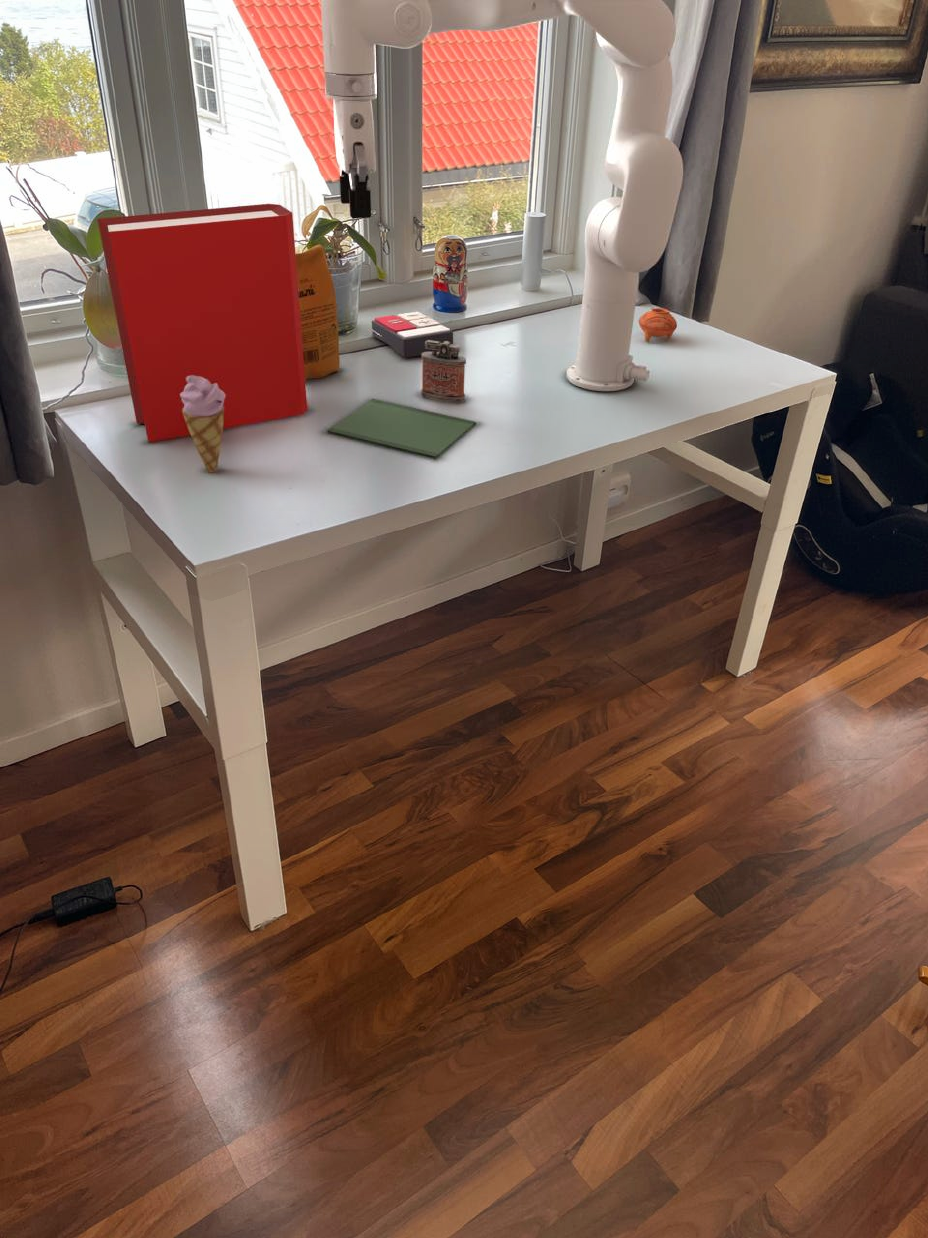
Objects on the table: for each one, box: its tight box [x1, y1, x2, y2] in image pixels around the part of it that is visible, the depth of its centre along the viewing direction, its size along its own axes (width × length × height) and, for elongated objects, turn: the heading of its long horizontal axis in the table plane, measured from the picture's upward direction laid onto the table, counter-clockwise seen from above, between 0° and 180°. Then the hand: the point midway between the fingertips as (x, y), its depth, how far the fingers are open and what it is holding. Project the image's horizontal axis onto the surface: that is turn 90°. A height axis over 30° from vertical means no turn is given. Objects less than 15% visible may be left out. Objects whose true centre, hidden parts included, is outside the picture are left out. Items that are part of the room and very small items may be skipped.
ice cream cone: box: [180, 375, 226, 474], centre depth 138 cm, size 7×6×15 cm
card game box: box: [371, 311, 454, 358], centre depth 188 cm, size 11×4×15 cm
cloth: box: [326, 398, 477, 460], centre depth 156 cm, size 20×15×1 cm
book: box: [97, 203, 308, 444], centre depth 148 cm, size 27×8×32 cm, turn 118°
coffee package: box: [295, 244, 341, 380], centre depth 169 cm, size 10×12×22 cm
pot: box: [638, 307, 678, 343], centre depth 193 cm, size 8×8×7 cm
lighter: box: [420, 340, 467, 404], centre depth 164 cm, size 8×3×10 cm, turn 71°
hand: (355, 209), depth 148 cm, fingers open, 9 cm apart
